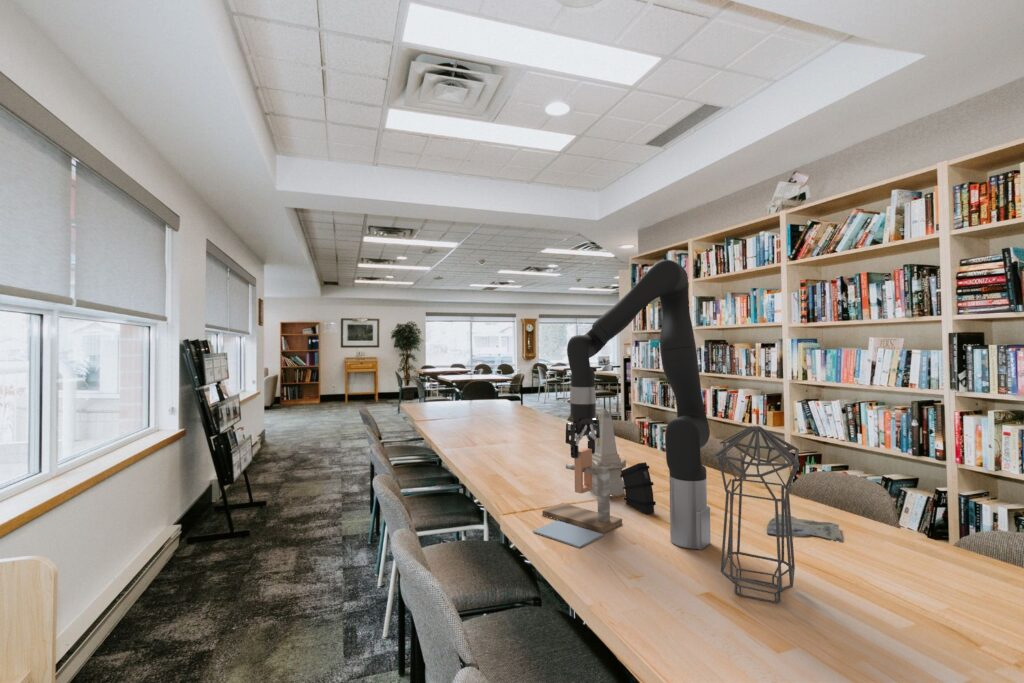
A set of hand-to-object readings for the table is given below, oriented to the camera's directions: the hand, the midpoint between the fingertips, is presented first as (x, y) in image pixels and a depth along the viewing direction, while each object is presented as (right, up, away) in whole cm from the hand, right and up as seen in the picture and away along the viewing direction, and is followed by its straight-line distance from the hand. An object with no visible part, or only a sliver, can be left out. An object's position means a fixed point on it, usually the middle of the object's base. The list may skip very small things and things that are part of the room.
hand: (583, 455), depth 146 cm
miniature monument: (+12, -20, +28) cm, 37 cm away
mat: (-6, -19, -11) cm, 23 cm away
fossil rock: (+60, -19, -10) cm, 64 cm away
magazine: (+19, -20, +11) cm, 29 cm away
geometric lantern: (+30, -19, -44) cm, 57 cm away
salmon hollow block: (0, -11, 0) cm, 11 cm away
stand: (-1, -19, 0) cm, 19 cm away
